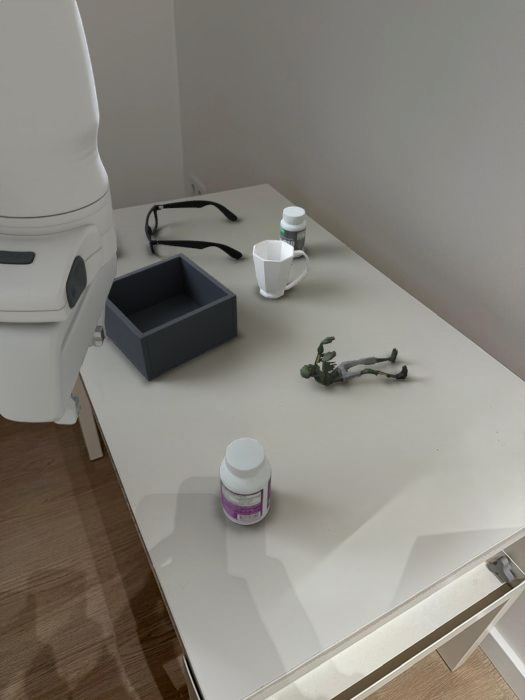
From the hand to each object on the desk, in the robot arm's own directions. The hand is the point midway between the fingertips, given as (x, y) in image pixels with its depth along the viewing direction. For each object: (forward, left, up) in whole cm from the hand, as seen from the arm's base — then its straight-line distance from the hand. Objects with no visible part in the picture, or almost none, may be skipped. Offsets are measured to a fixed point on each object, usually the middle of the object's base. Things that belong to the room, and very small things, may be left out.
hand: (82, 376), depth 44 cm
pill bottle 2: (+50, +28, -20) cm, 61 cm away
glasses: (+38, +43, -20) cm, 61 cm away
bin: (+20, +22, -20) cm, 36 cm away
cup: (+41, +20, -20) cm, 50 cm away
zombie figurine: (+35, -2, -20) cm, 40 cm away
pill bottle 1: (+11, -9, -20) cm, 24 cm away
